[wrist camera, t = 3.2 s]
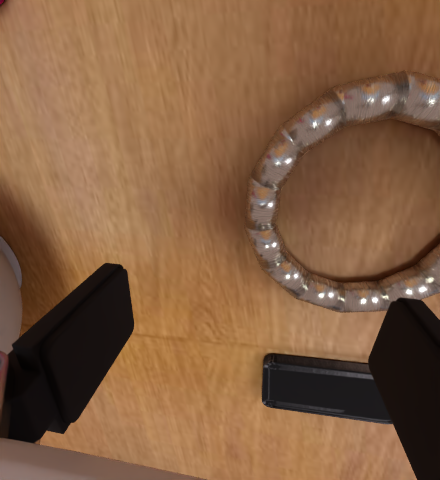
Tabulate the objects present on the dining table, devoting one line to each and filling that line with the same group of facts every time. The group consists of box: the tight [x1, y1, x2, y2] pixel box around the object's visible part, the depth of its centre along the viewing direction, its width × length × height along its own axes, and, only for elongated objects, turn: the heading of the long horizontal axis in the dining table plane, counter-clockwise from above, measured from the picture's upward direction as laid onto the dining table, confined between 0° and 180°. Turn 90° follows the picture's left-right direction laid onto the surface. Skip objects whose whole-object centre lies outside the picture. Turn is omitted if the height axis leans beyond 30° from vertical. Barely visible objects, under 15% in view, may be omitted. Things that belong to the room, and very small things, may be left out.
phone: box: [262, 354, 393, 424], centre depth 29 cm, size 8×1×15 cm
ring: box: [245, 71, 440, 313], centre depth 20 cm, size 18×19×3 cm
